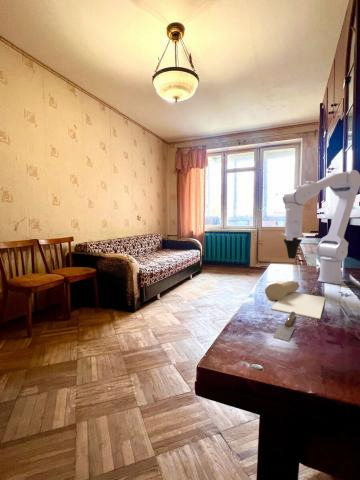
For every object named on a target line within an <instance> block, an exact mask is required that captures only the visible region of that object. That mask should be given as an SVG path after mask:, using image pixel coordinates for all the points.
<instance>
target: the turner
mask: <svg viewBox="0 0 360 480" xmlns="http://www.w3.org/2000/svg"><path fill="white" fill-rule="evenodd" d="M296 316H297V315H296V313H295V312H291V313H289V315H288V317H287V319H286V321H285V323H284V324H280V325H279V327H278V328H277V329H276V331H275V332H274V334H273V338H274V339H278V340H283V341H287V342H289V341H290V339H291V337H292V335H293V333H294V331H295V327H293V326H292V325H291V324H292V323H293V322H294V319H295V317H296Z"/></svg>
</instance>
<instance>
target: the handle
mask: <svg viewBox="0 0 360 480" xmlns="http://www.w3.org/2000/svg"><path fill="white" fill-rule="evenodd" d="M283 282H284V283H282V284H280V283H276V282H275V283H270V284H269V285H268V286H266V288H265V289H264V294H265V296H266V298H268V299H269V300H271V301H272V300H273V301H277V300H278V299H281V298H283V297H284V296H285V295H286V294H290V293H292V292H296V291H297V290H298V289H299V288H300V285H299V282H298V281H294V280H289V281H283Z"/></svg>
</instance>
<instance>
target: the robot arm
mask: <svg viewBox="0 0 360 480" xmlns="http://www.w3.org/2000/svg"><path fill="white" fill-rule="evenodd" d="M327 188H329V189H330V190H331V191H332V192H333V193H334V196H337V197H338V202H337V204H336V208H335V211H334V214H333V217H332V220H331V221H332V222H331V224H330V227H329V229H328V233H327V235H325V236H323V237H322V238H320V242H319V243H318V244H317V246H316V251H315V252H316V255H317V256H318V258H319V259H320V265H319V268H320V269H319V276H318V279H317V282H319V283H321V282H322V283H328V284H334V285H342V278H341V272H342V262H343V261H344V260H345V259H346V258H347V256H348V249H349V248H348V247H349V242H348V241H347V240H346V239H345V238H344V237H345V233H346V230H347V227H348V223H349V221H350V217H351V214H352V211H353V208H354V204H355V202H356V198H357V194H358V193H359V189H360V172H359V171H358V170H355V169H352V170H348V171H343V172H337V173H332V174H331V173H330V174H328V175H327V176H325V177H323V178H321V179H319V180H318V181H313V180H312V181H311V180H307V181H305V183H304V184H302V185H297V186H295V189H289V190H287V191H285V193H284V195H283V197H282V202H283V203H284V209H285V221H284V222H285V223H284V227H285V228H284V233H282V232H281V236H285V238H284V239H283V242H284V245H285V246H286V252H287V257H288V259H296V257H297V253H298V250H299V247H300V244H301V242H302V240H303V239H302V238H300V237H303V234H302V233H303V218H304V217H303V213H304V205H305V204H306V203H307V202H308V200H311V199H312V198H314V197H316V196H318V195H319V193H320V192H321V190H324V189H327ZM299 238H300V239H299Z"/></svg>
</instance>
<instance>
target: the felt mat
mask: <svg viewBox="0 0 360 480" xmlns="http://www.w3.org/2000/svg"><path fill="white" fill-rule="evenodd" d="M325 301H326V296H325V297H324V296H319V295H313V294H306V293H300V292H296V291H294V292H292V293H290V294H286V295H285V296H284V297H283V298H281V299H278V300H276V302H274V304H273V305H272V306H271V308H270V310H273V311H276V312H277V311H278V312H283V313H288V314H291V312H295V313H296V315H295V316H297V315H298V316H302V317H307V318H311V319H316V320H321V316H322V313H323V309H324V305H325Z"/></svg>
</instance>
